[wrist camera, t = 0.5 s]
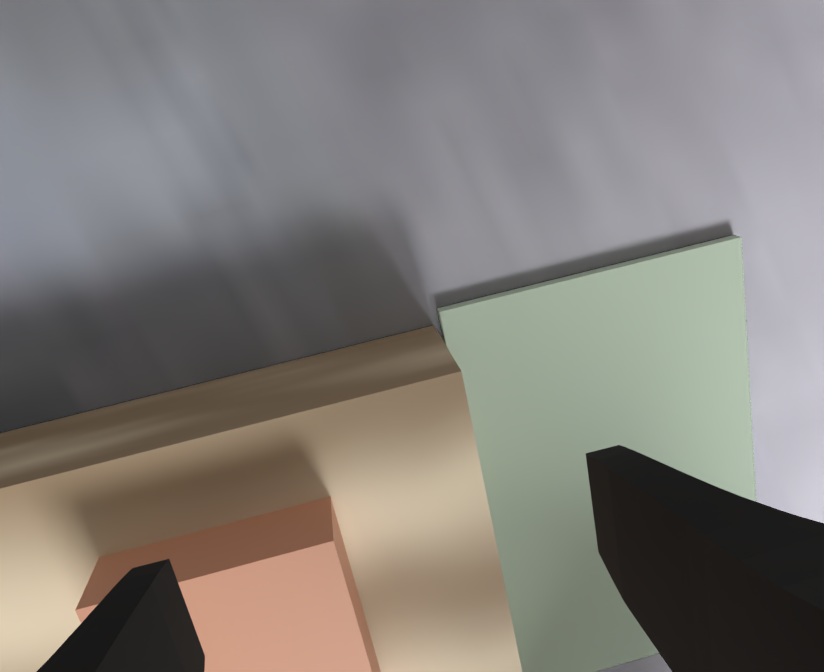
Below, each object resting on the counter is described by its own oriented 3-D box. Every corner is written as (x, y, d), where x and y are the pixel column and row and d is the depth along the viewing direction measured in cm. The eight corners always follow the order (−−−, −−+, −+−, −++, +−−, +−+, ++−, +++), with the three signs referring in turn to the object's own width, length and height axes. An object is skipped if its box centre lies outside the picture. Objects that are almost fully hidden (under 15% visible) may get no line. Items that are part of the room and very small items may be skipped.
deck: (508, 677, 26) (542, 772, 22) (74, 801, 25) (33, 924, 21) (433, 325, 22) (461, 371, 18) (-102, 458, 20) (-193, 537, 17)
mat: (756, 615, 27) (762, 623, 27) (515, 685, 26) (518, 694, 26) (734, 235, 22) (741, 237, 22) (437, 308, 21) (439, 312, 21)
